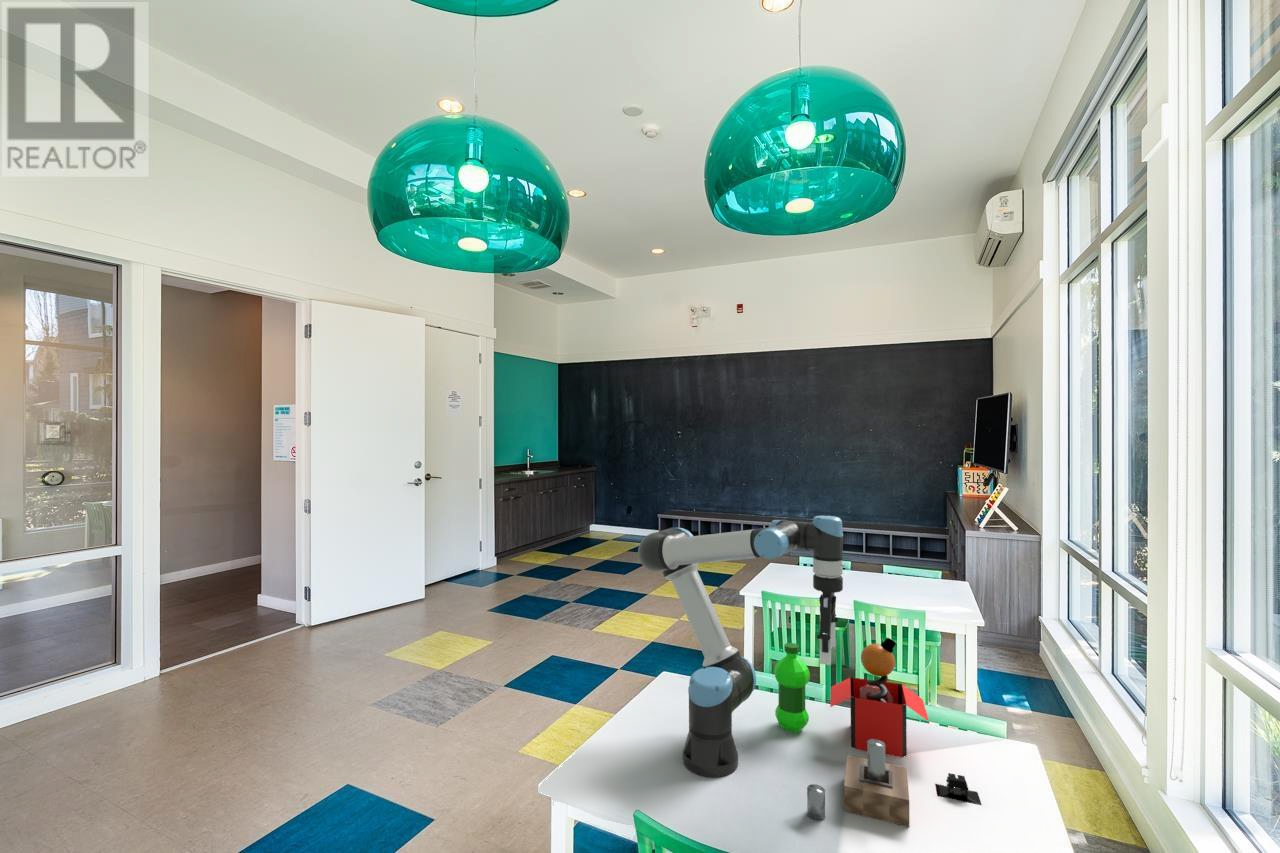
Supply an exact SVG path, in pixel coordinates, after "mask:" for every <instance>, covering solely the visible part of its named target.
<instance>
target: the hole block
mask: <svg viewBox="0 0 1280 853" xmlns="http://www.w3.org/2000/svg"><path fill="white" fill-rule="evenodd" d="M908 778H909V777H908V767H906V766H900V765H896V764H891V763H886V762H885V783H883V782H878V781H873V780H869V779H867V759H865V758H863V757H862V758H861V757H857V756H851V755H847V757H846V766H845V776H844V784H843V785H844V786H843V789H844V790H843V793H844V794H843V797H844V798H843V804H844V805H843V807H844V808H843V809H844V810H843V811H844V813H845V812H846V813H851V814H854V815H859V816H864V817H866V818H869V819H875V820H879V821H883V822H888V823H892V824H897V825H900V826H903V827H904V826H905V827H907V828H910V792H909V791H910V790H909V779H908Z"/></svg>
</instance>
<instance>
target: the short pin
mask: <svg viewBox="0 0 1280 853" xmlns="http://www.w3.org/2000/svg"><path fill="white" fill-rule="evenodd" d="M806 797H807V798H806V800H807V801H806V802H807V803H806V804H807V806H806V814H807V817H808V818H809V819H811V820H813V821H816V822H821V821H824V820H825V818H826V789H825V788H824V787H823V786H822V785H819V784H815V783H812V784H809V785H807V787H806Z"/></svg>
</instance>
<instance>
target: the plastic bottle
mask: <svg viewBox="0 0 1280 853" xmlns="http://www.w3.org/2000/svg"><path fill="white" fill-rule="evenodd" d="M783 648H784V652H785V656H784V657H783V658H781V659H780V660H779V661H777V662H776V663H775V665H774V668H773V673H774V676H775V680H776V681H777V683H778V705H777V707H776V709H775V710H774V711H775V717H776V720H777V723H778V724H779V725H780V726H781V727H782V728H783V729H784V730H785V731H786V732H789V733H799V732H800V731H801V730H803V728H805V727H806V726H807V724H808V722H809V717H810V716H809V714H808V710H807V708H806V685H807V684H808V683H809V682H810V678H811V672H810V670H809V668H808V666H807V664H806V663H805V662H804V661H803V660H801V658H799V657H798V654H799V653H800V646H799V644H797V643H796V642H795V643H793V642H786V643H784V647H783Z"/></svg>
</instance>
